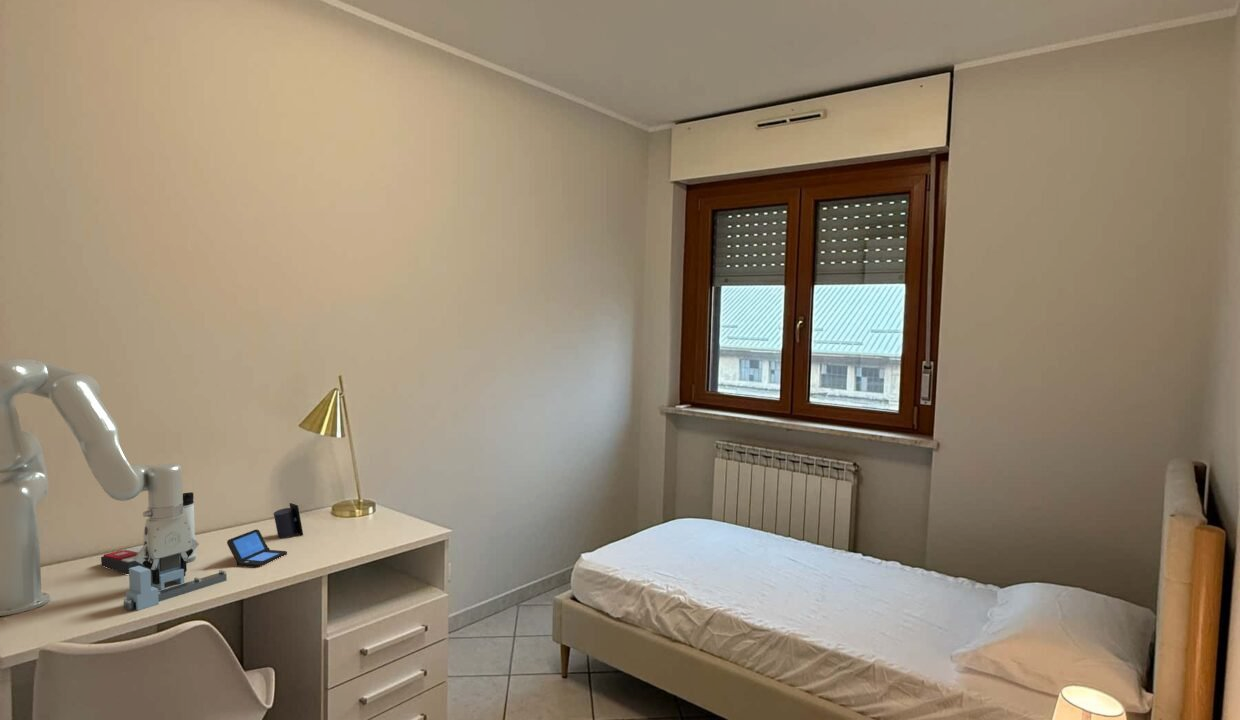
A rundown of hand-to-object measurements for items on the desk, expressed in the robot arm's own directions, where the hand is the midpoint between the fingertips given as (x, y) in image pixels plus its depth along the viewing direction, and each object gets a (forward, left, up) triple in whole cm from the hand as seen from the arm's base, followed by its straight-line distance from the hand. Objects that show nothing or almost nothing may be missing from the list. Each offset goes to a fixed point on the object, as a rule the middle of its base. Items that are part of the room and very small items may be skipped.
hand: (168, 578), depth 177 cm
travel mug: (+12, +17, -2) cm, 21 cm away
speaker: (+42, +13, -2) cm, 44 cm away
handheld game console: (+24, -1, -2) cm, 24 cm away
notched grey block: (0, 0, -2) cm, 2 cm away
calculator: (+3, +26, -2) cm, 26 cm away
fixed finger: (-10, -9, -2) cm, 14 cm away
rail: (-2, -9, -2) cm, 9 cm away
